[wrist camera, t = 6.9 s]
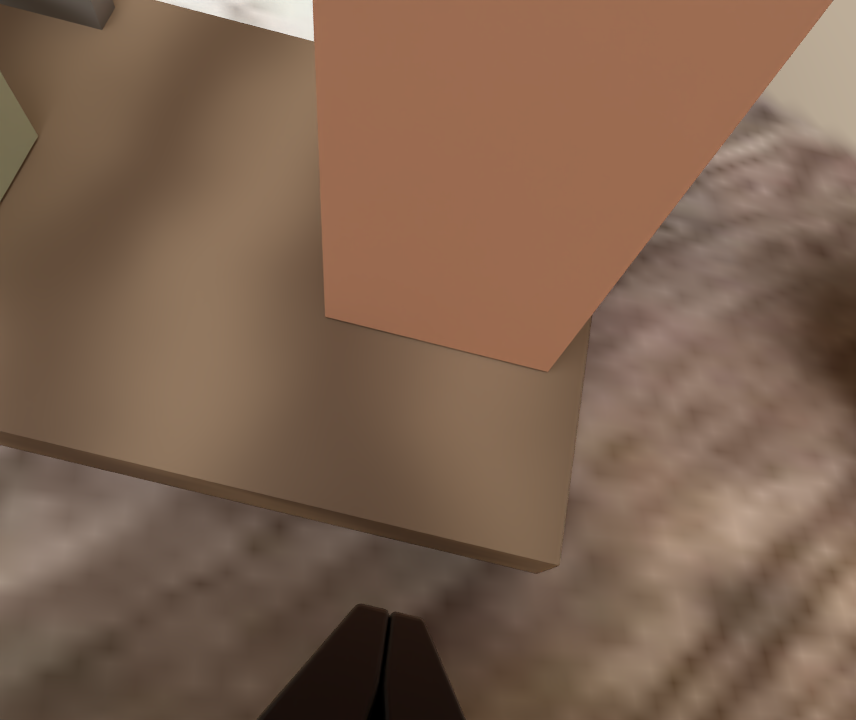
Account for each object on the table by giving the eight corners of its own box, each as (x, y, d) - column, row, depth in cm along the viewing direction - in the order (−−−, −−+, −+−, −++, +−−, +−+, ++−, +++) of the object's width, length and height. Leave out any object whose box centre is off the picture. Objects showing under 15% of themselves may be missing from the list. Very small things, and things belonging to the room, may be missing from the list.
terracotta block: (548, 372, 18) (883, -65, 7) (325, 316, 18) (304, -223, 7) (575, 191, 20) (857, -348, 9) (379, 140, 20) (430, -469, 9)
